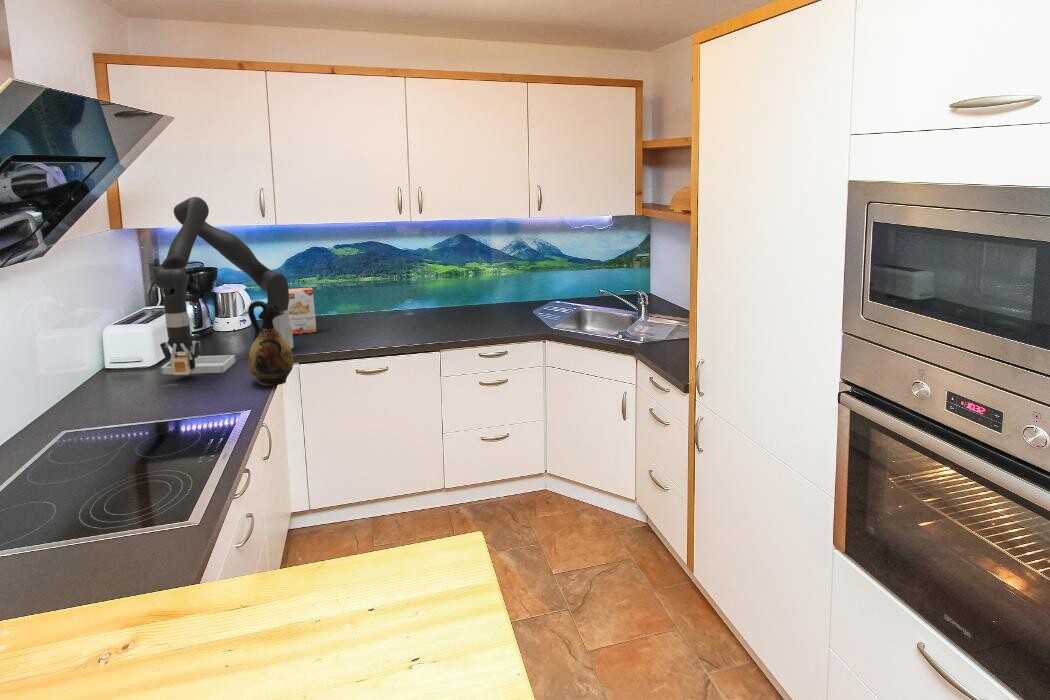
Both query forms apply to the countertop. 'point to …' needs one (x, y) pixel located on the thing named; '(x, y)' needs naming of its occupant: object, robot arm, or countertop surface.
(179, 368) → the orange-label box
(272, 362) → the ceramic jug
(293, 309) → the cracker box
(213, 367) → the white rectangular tray
